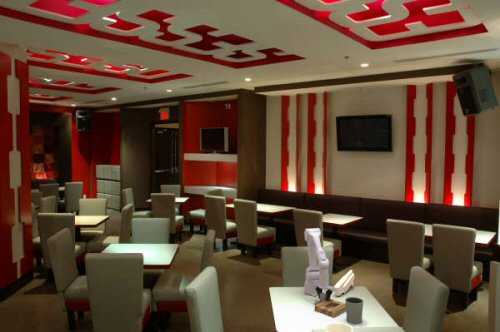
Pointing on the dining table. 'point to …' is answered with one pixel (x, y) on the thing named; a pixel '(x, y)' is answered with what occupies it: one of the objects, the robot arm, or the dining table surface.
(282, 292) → the dining table surface
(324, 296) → the steel bracket
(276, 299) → the dining table surface
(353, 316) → the gray cup
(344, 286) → the shelf bracket
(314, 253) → the robot arm
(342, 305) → the oak well block
